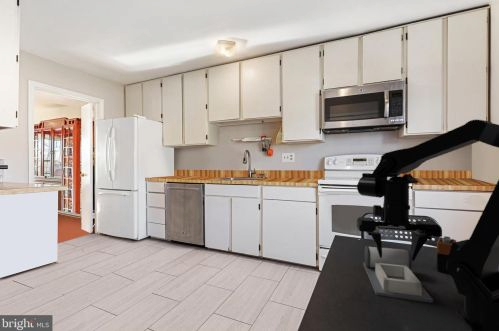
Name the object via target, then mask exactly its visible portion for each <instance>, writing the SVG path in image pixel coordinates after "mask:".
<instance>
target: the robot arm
mask: <svg viewBox="0 0 499 331" xmlns="http://www.w3.org/2000/svg"><path fill="white" fill-rule="evenodd" d="M479 142H480V143H484V144H486V145H489V146H491V147H495V148H499V124H496V123H493V122H492V121H488V120H483V119H471V120H468V121H467V122H465V123H464V124H462V125H460V126H458V127H456V128H453V129H451V130H449V131H447V132H444V133H442V134H440V135H438V136H435V137H433V138H429V139H428V140H426V141H424V142H421V143H418V144H417V145H415V146H411V147H406V148H402V149H401V148H400V149H396V150H391V151H388V152H385V153H383V154H382V155H381V157H380V161H379V163H378V164H377V166H376V167H375V168H374V170H373V172H372V173H371V172H366V173H365V172H364V173H362V174H361V177H360V178H359V179H358V180H359V181H358V182H357V184H356V189H357V192H358V194H359V195H361V196H364V197H365V196H366V197H371V198H373V197H374V198H379V199H380V198H383V206H381V205H380V204H379V205H378V204H373V206H372V215H373V217H375V218H380V221H379V220H378V221H377V220H374V218H373V217H365V216H364V217H362V216H358V217H357V219H356V227H357V229H358V231H359V232H362V233H363V232H364V233H367V235H368V236H371V238H372V240H373V241H374V245H375V247H376V248H377V251H378V254H379V257H380V258H382V248H383V247H382V244H383V243H382V235H381V233H380V231H379V229H382V230H395V231H396V230H397V231H410V234H411V243H410V245H411V246H410V255H411V260H412V261H413V262H414V261H415V260H416V257H417V256H418V254H419V252H420V251H421V249H422V247H423V246H424V245H425V243H427V241H428V240H430V241H431V240H432V238H433V237H436V238H437V237H438V238H443V229H442V226H441V225H440V224H438V223H436V222H434V221H432V220H421V219H420V220H419V219H417V220H416V222H414V223H412V222H411V221H410V211H411V205H410V184H419V180H417V179H416V178H415V177H414V176H413V175H412V173H410V172H412V171H414V170H415V169H417V168H419V167H420V166H421V165H423V164H424V163H426V162H427V161H429V160H433V159H434V158H435V159H436V158H438V157H440V156H443V155H445V154H448V153H452V152H454V151H457V150H459V149H462V148H465V147H468V146H470V145H473V144H475V143H479ZM400 175H402V176H400ZM445 259H446V260H448V261H447V265H446V268H447V270H448V271H449V274H448V275H450V277H452V279H453V282H454V285H455V288H456V290H457V292H458V293H459V295H462V296H464V311H463V310H456V312H455V313H456V315H457V316H458V317H459V318H460V319H461V320H462V321H463V322H464V324H466V326H467V327H469V328H468V329H470V330H471V331H499V179H498V180H497V182H496V184H495V186H494V188H493V190H492V193H491V194H490V196H489V198H488V201H487V202H486V204H485V207H484V209H483V210H482V213H481V215H480V217H479V219H478V221H477V223H476V225H475V226H474V228H473V230H472V232H471V235H470V237H469V238H468V239H463V240H460V241H458V240H457V241H456V242H454V243H453V244H452V246H451V249H450V253H449V255H448V256H447V257H445Z"/></svg>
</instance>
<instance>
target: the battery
mask: <svg viewBox="0 0 499 331" xmlns="http://www.w3.org/2000/svg"><path fill="white" fill-rule="evenodd" d="M454 242H457V240H456V239H454V238H451V237H450V236H446V235H444V236H443V237H438V239H437V241H436V271H437V272H439V273H443V274H448V275H450V274H449V271H448V270H447V268H446V265H447V261H448V260H446V259H445V257H447V256H448V255H449V253H450V249H451V246H452V244H453V243H454Z"/></svg>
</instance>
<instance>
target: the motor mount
mask: <svg viewBox="0 0 499 331" xmlns="http://www.w3.org/2000/svg"><path fill="white" fill-rule="evenodd" d="M410 253H411V251H409V249H403V248H402V249H401V248H400V249H399V248H390V247H382V258H380V257H379V254H378V251H377V248H376V246H368V245H365V246H364V261H363V263H362V264H363V267H364V270H365V272H366V275H367V277H368V279H369V282H370V283H371V286H372V288H373V290H374V293H375V295H376V296H380V297H381V296H382V297H389V298H396V299H402V300H410V301H416V302H424V303H431V304H434V298H432V296H431V295H430V294H429V293H428V291H426V289H425V288H424V286H423V285H422V283H421V281H420V280H419V279H418V278H417V276H416V274H414V273H413V271H412V268H413V266H412V265H413V264H412V260H411V254H410Z"/></svg>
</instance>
